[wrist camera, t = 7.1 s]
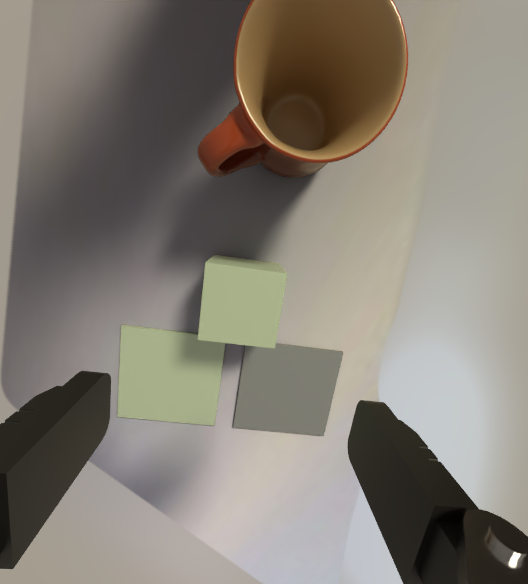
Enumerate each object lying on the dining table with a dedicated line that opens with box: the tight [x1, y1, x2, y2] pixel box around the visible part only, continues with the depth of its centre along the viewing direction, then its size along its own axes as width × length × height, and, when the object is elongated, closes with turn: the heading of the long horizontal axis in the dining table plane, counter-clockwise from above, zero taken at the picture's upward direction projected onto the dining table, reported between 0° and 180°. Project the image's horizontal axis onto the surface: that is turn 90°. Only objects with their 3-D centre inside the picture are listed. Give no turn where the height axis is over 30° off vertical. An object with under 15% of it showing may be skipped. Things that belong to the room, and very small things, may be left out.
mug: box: [198, 0, 408, 178], centre depth 19 cm, size 12×9×10 cm
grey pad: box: [233, 344, 343, 436], centre depth 29 cm, size 10×10×1 cm
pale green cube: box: [198, 255, 287, 349], centre depth 24 cm, size 6×6×6 cm
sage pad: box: [117, 325, 225, 426], centre depth 28 cm, size 10×10×1 cm
